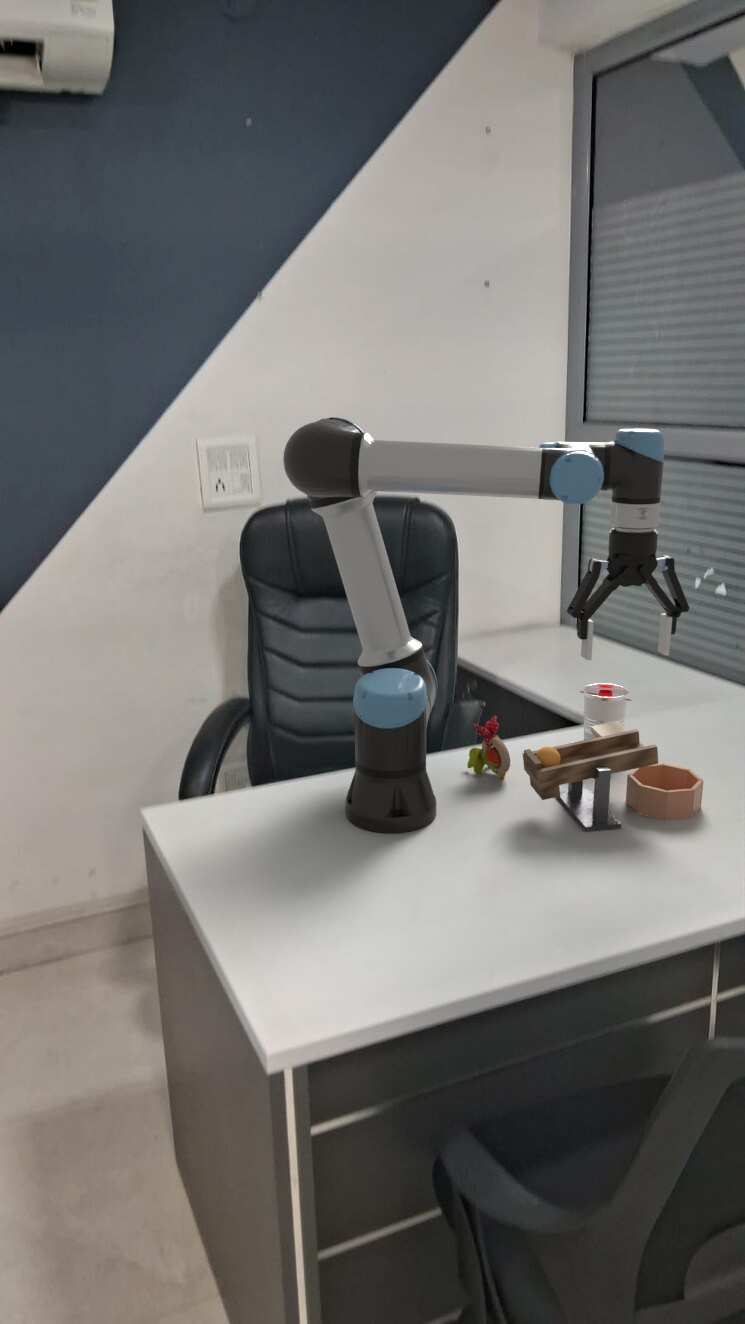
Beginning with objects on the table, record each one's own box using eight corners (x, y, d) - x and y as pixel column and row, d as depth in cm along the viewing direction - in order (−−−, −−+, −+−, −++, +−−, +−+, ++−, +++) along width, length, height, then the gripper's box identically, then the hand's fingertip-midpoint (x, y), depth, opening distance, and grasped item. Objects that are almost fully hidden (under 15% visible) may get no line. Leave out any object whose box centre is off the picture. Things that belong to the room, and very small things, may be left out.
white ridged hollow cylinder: (634, 747, 192) (638, 688, 188) (620, 761, 185) (624, 701, 181) (585, 737, 197) (588, 680, 193) (569, 751, 190) (572, 692, 186)
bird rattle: (513, 783, 181) (483, 751, 186) (532, 738, 174) (500, 707, 180) (487, 792, 177) (458, 759, 183) (506, 747, 171) (474, 714, 176)
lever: (542, 804, 158) (538, 767, 156) (511, 764, 173) (507, 730, 171) (660, 778, 160) (658, 742, 158) (619, 741, 176) (616, 708, 174)
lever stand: (585, 831, 158) (588, 773, 155) (555, 795, 171) (557, 741, 168) (621, 828, 158) (625, 770, 156) (588, 792, 172) (591, 738, 169)
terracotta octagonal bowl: (618, 808, 165) (620, 781, 164) (642, 785, 174) (644, 759, 173) (685, 825, 159) (687, 797, 158) (707, 800, 168) (709, 773, 167)
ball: (534, 775, 161) (528, 753, 160) (544, 763, 164) (539, 741, 163) (556, 776, 158) (551, 754, 157) (566, 764, 161) (561, 742, 160)
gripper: (568, 535, 153) (561, 666, 159) (718, 529, 157) (705, 657, 163) (551, 527, 160) (545, 653, 166) (695, 521, 164) (684, 645, 170)
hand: (625, 655), depth 164 cm, fingers open, 13 cm apart
